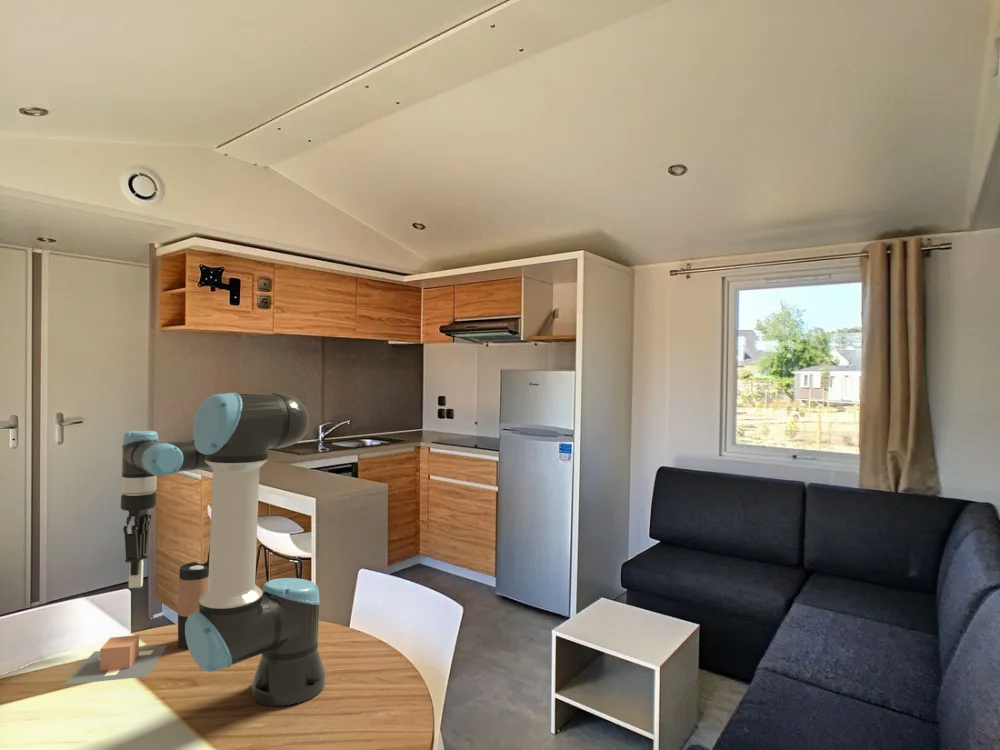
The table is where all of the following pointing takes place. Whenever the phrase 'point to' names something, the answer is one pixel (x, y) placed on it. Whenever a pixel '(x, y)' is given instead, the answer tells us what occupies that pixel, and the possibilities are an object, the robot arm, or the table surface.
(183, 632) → the travel mug
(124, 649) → the terracotta block
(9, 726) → the table surface
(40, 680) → the table surface
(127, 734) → the table surface
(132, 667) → the letter mat
